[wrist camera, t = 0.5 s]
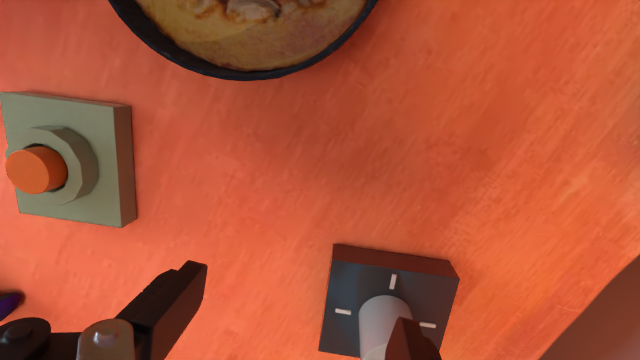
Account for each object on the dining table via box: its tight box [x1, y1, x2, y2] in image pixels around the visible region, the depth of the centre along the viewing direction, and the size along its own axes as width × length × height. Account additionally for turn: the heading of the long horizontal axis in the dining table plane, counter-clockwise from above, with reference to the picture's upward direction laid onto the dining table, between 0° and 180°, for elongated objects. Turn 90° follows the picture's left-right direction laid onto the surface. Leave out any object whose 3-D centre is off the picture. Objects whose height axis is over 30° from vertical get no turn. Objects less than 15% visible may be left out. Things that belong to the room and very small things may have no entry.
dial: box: [358, 295, 414, 360], centre depth 25 cm, size 5×5×6 cm
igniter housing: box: [0, 92, 137, 228], centre depth 28 cm, size 11×10×4 cm
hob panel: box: [318, 244, 460, 358], centre depth 30 cm, size 10×11×3 cm
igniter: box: [6, 146, 68, 194], centre depth 25 cm, size 4×4×2 cm
